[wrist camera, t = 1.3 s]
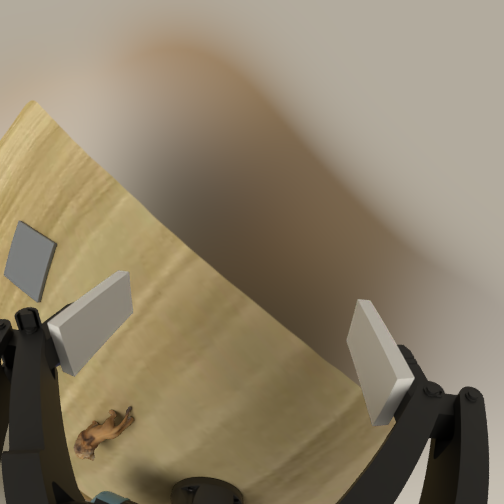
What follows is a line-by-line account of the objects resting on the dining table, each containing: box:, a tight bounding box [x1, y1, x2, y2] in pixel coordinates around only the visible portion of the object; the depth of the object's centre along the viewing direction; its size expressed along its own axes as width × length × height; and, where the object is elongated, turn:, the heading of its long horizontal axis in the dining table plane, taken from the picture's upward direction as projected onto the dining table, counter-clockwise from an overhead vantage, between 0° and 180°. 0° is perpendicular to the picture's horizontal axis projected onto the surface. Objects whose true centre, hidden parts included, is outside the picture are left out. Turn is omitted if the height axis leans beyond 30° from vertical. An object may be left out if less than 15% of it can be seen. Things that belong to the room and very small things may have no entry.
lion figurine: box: [74, 407, 134, 460], centre depth 36 cm, size 15×5×9 cm, turn 134°
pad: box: [4, 221, 57, 303], centre depth 40 cm, size 12×12×1 cm
